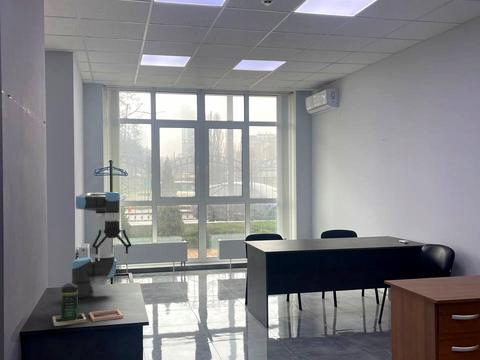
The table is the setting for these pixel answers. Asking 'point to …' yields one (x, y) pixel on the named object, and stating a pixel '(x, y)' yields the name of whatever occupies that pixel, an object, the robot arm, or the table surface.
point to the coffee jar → (69, 302)
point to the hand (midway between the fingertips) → (111, 260)
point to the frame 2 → (106, 316)
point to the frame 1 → (69, 321)
